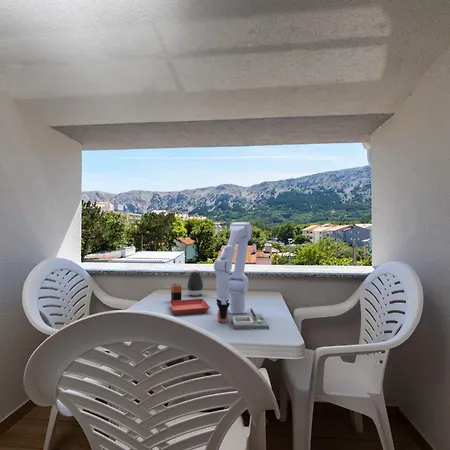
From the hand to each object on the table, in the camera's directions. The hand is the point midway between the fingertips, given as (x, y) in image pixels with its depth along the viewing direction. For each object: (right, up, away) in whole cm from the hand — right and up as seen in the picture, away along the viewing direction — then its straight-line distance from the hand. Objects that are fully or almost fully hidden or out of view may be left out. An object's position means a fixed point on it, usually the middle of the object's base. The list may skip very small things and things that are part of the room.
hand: (222, 316), depth 129 cm
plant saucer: (-17, -2, +17) cm, 24 cm away
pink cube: (0, -1, 0) cm, 1 cm away
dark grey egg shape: (-17, -2, +50) cm, 53 cm away
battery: (-26, -2, +33) cm, 42 cm away
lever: (+14, 0, -2) cm, 14 cm away
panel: (+11, -1, -3) cm, 12 cm away
